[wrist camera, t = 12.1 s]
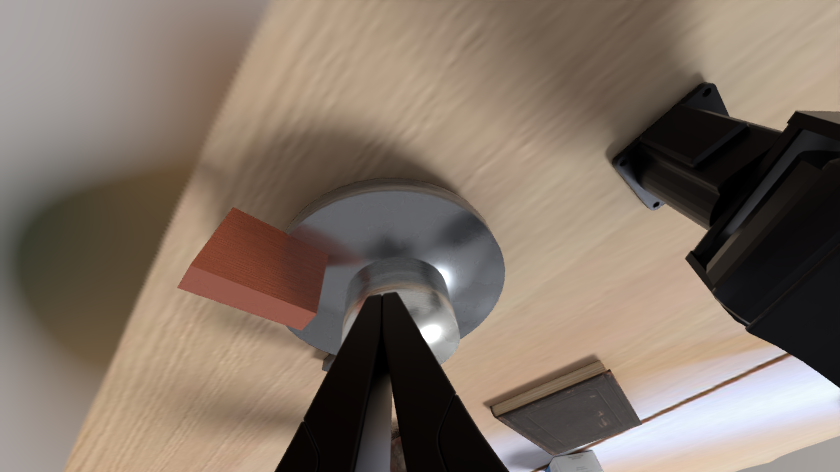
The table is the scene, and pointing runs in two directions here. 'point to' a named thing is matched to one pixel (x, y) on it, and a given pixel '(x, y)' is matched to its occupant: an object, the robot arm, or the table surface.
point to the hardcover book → (570, 410)
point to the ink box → (575, 463)
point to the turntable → (349, 256)
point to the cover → (408, 299)
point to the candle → (397, 456)
